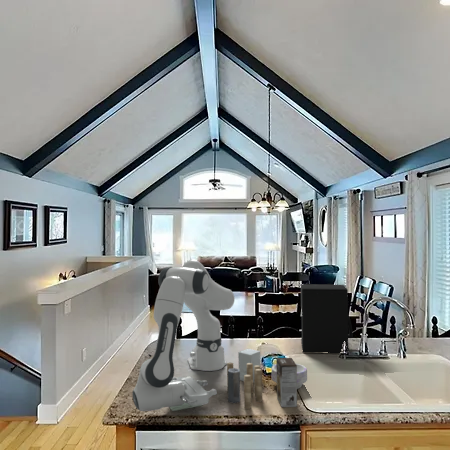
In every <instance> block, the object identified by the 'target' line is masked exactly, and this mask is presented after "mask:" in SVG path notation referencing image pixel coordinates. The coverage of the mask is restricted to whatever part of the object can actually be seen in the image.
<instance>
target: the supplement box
mask: <svg viewBox="0 0 450 450" xmlns="http://www.w3.org/2000/svg"><path fill="white" fill-rule="evenodd" d="M237 353H238V354H237V356H238V357H237V358H238V369H240V381H242V382H244V375H247V363H252V364H253V383H254V366H256V365H258V366H261V350H256V349H252V348H246V349H244V350H243V349H242V350H241V351H239V352H237Z"/></svg>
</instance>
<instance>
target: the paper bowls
mask: <svg viewBox="0 0 450 450" xmlns="http://www.w3.org/2000/svg"><path fill="white" fill-rule="evenodd" d="M296 365H297V390H298V389H300V388H301V387H302V386H303V384H304V383H306V382H308V368H307V367H306V366H305V365H303V364H299V363H296ZM271 380H272V381H273V382H274V383H276V384H277V363H275V364H273V365H272V366H271Z"/></svg>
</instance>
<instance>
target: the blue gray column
mask: <svg viewBox="0 0 450 450" xmlns="http://www.w3.org/2000/svg"><path fill="white" fill-rule="evenodd" d="M227 401H228V403H232V404H237V403H240V401H241V380H240V369H239V368H235V367H233V368H232V369H228V393H227Z"/></svg>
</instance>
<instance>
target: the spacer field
mask: <svg viewBox="0 0 450 450" xmlns="http://www.w3.org/2000/svg"><path fill="white" fill-rule="evenodd" d="M226 368H227V369H226V374H227V376H226V379H227V380H226V383H227V384H226V387H227V390H226V391H227V392H226V393H227V394H228V369H232V368H234V363H233V362H227V365H226ZM261 368H262V367H261V365H260V366H258V365H256V366H254V382H253V364H252V363H247V375H244V381H243V389H244V390H243V391H244V392H243V395H244V397H243V399H244V400H243V404H244V407H243V408H244V409H245V410H250V409H252V395H253V394H254V398H255V401H256V402H258V403H261V402H263V369H261Z"/></svg>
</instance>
